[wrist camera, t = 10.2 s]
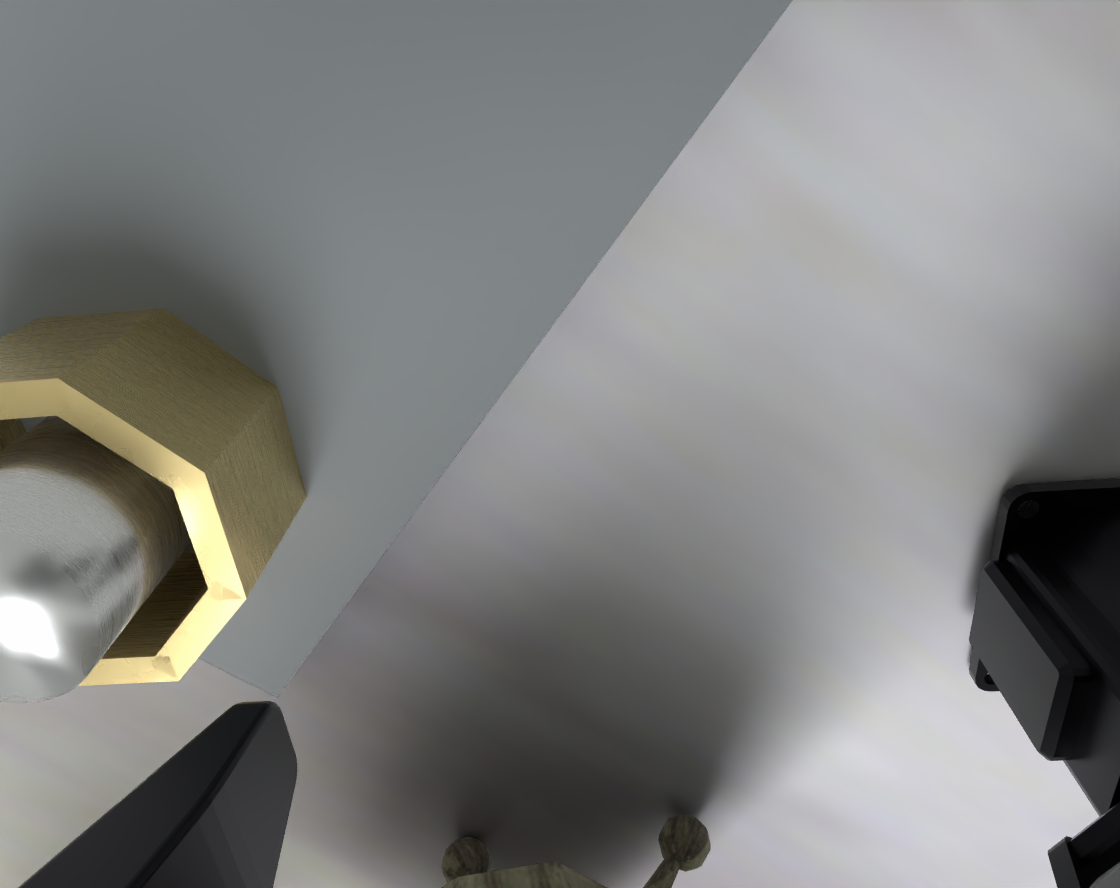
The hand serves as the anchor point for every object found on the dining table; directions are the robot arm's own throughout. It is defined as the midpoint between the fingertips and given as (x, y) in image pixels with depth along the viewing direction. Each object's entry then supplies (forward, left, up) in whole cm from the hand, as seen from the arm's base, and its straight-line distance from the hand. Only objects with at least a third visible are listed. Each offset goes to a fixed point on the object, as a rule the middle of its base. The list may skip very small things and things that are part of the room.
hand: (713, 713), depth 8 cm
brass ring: (+12, +2, -11) cm, 16 cm away
